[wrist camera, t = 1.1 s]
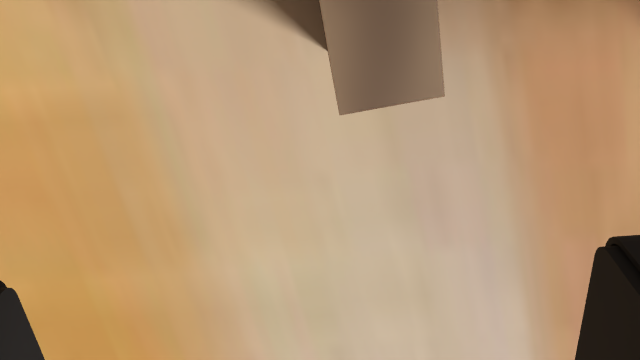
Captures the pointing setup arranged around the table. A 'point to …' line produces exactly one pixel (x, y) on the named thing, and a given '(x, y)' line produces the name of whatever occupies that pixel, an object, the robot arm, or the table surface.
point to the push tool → (383, 52)
